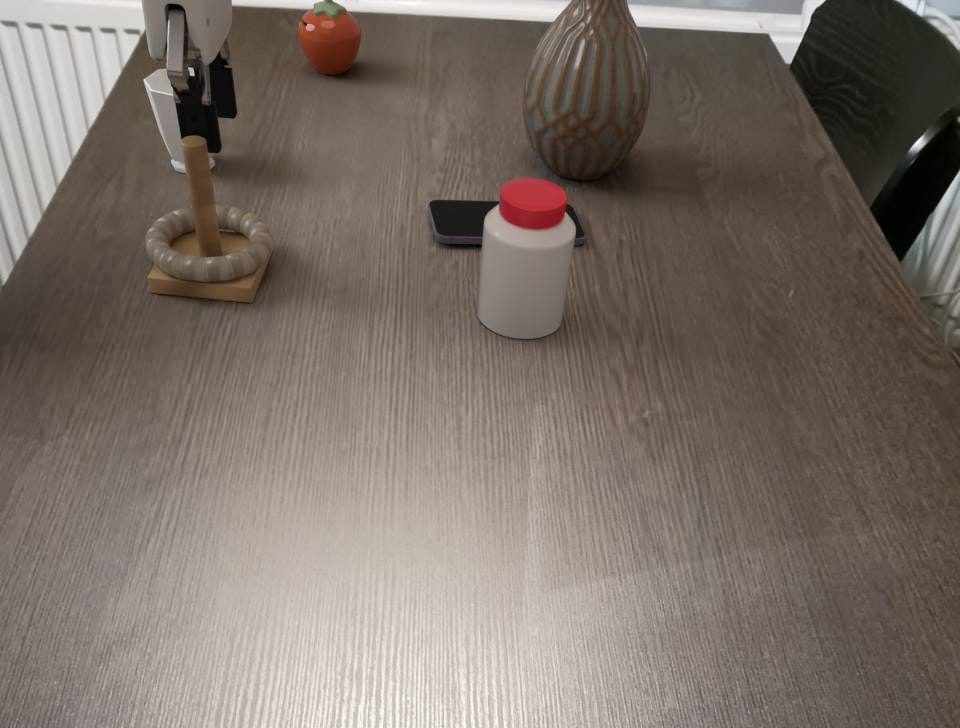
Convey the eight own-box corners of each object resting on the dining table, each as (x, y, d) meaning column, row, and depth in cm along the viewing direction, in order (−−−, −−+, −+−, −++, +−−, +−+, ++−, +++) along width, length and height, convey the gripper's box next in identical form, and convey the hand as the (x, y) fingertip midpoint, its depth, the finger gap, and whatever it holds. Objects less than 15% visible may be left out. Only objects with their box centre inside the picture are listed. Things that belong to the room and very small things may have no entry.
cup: (153, 179, 97) (137, 94, 91) (166, 135, 104) (152, 52, 97) (225, 182, 98) (213, 97, 92) (233, 137, 104) (223, 55, 98)
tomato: (300, 55, 119) (295, -20, 113) (361, 57, 120) (359, -17, 114) (299, 80, 115) (294, 4, 108) (362, 82, 116) (361, 6, 109)
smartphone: (588, 239, 95) (436, 236, 92) (586, 250, 95) (436, 247, 93) (571, 202, 99) (426, 198, 96) (569, 212, 100) (426, 209, 97)
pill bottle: (498, 346, 83) (510, 223, 75) (463, 298, 88) (471, 177, 79) (577, 330, 86) (597, 210, 77) (539, 285, 90) (555, 166, 82)
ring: (131, 278, 83) (126, 257, 82) (168, 216, 90) (164, 194, 89) (258, 292, 83) (256, 271, 82) (285, 228, 90) (283, 208, 89)
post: (150, 293, 85) (121, 160, 76) (177, 240, 90) (153, 111, 82) (252, 303, 85) (236, 172, 76) (273, 250, 91) (260, 122, 82)
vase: (607, 135, 111) (637, -44, 98) (655, 190, 104) (694, 4, 90) (500, 143, 108) (516, -41, 94) (541, 200, 100) (564, 9, 87)
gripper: (151, -160, 75) (190, 88, 89) (86, -95, 64) (142, 176, 78) (248, -152, 75) (271, 95, 89) (200, -85, 64) (235, 184, 78)
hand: (211, 131), depth 84 cm, fingers open, 6 cm apart
